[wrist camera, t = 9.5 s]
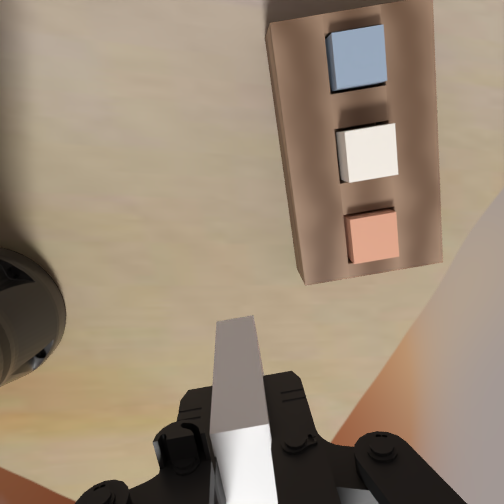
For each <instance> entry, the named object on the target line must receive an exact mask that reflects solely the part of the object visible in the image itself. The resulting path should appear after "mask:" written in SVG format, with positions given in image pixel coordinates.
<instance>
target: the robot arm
mask: <svg viewBox="0 0 504 504" xmlns="http://www.w3.org/2000/svg"><path fill="white" fill-rule="evenodd" d="M65 324H66V312H65V306H64V302H63V299H62V296H61V294H60V291H59V289H58V287H57V286H56V284H55V283H54V281H53V280H52V278H51V277H50V276H49V275H48V274H47V273H46V272H45V271H44V270H43V269H42V268H41V267H40V266H39V265H37V264H36V263H35V262H33V261H32V260H30V259H29V258H27V257H25V256H23V255H21V254H19V253H17V252H14V251H11V250H8V249H4V248H0V387H1V386H3V385H5V384H8V383H10V382H12V381H14V380H16V379H19V378H21V377H23V376H25V375H27V374H29V373H31V372H32V371H34V370H35V369H37V368H38V367H39V366H40V365H42V364H43V363H44V362H45V361H46V360H47V358H48V357H49V356H50V355H51V354H52V353H53V351H54V350H55V349H56V347H57V346H58V344H59V343H60V341H61V339H62V336H63V333H64V329H65ZM153 445H154V449H155V452H156V456H157V460H158V463H159V467H160V471H159V474H158V475H156V476H155V477H154V478H152V479H151V480H149V481H147V482H145V483H143V484H140V485H138V486H136V487H134V488H131V489H128V486H127V485H126V484H125V483H124V482H123V481H118V480H109V481H104V482H101V483H99V484H97V485H94V486H93V487H91V488H90V489H89V490H87V491H86V492H84V493H83V495H82V496H81V497H80V498H79V499H78V500H77V501H76V503H75V504H467V503H466V502H465V501H464V500H463V499H462V498H461V497H460V496H459V495H458V494H457V493H456V492H455V491H454V490H453V489H452V488H451V487H450V486H449V485H448V484H447V483H446V482H445V481H444V480H443V479H442V478H441V477H440V476H439V475H438V474H437V473H436V472H435V471H434V470H433V469H432V468H431V467H430V466H429V465H428V464H427V463H426V462H425V460H424V459H422V457H421V456H420V455H418V454H417V452H416V451H415V450H414V449H413V448H412V447H411V446H410V445H409V444H408V443H407V442H406V441H404V440H403V439H402V438H400V437H399V436H397V435H394V434H391V433H389V432H378V431H376V432H372V433H367V434H365V435H364V436H362V437H360V438H359V439H358V441H357V442H356V444H355V447H349V446H340V445H335V444H332V443H330V442H328V441H326V440H324V439H323V438H322V437H321V436H320V435H319V434H318V433H317V431H316V428H315V425H314V422H313V418H312V415H311V412H310V408H309V405H308V402H307V399H306V395H305V392H304V389H303V385H302V382H301V379H300V378H299V377H298V376H297V375H296V374H295V373H294V372H293V371H288V372H282V373H277V374H271V375H265V376H264V373H263V367H262V361H261V355H260V350H259V344H258V338H257V333H256V327H255V321H254V316H253V315H252V316H247V317H241V318H235V319H229V320H224V321H218V322H217V324H216V340H215V356H214V371H213V386H209V387H203V388H197V389H192V390H188V391H187V393H186V394H185V395H184V397H183V398H182V399H181V401H180V407H179V414H178V417H177V422H174V423H171V424H169V425H168V426H166V427H164V428H163V429H162V430H161V431H160V432H159V433H158V434H157V435H156V436H155V438H154V440H153Z"/></svg>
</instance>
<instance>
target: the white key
mask: <svg viewBox="0 0 504 504" xmlns="http://www.w3.org/2000/svg"><path fill="white" fill-rule="evenodd" d="M336 137H337V147H338V157H339V166H340V176H341V180H343V181H346V182H349V183H351V182H357V181H363V180H369V179H375V178H381V177H387V176H392V175H398V162H397V146H396V131H395V123H392V124H382V125H376V126H370V127H364V128H359V129H353V130H347V131H341V132H336Z"/></svg>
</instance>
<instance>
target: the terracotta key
mask: <svg viewBox="0 0 504 504" xmlns="http://www.w3.org/2000/svg"><path fill="white" fill-rule="evenodd" d="M343 218H344V228H345V238H346V247H347V257H348V258H349V259H350V260H351V261H352V262H353V263H354V264H359V263H364V262H370V261H376V260H382V259H388V258H394V257H399V244H398V229H397V215H396V212H395V211H393V210H391V209H388V208H382V209H376V210H370V211H364V212H358V213H352V214H346V215H343Z"/></svg>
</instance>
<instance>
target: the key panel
mask: <svg viewBox="0 0 504 504" xmlns="http://www.w3.org/2000/svg"><path fill="white" fill-rule="evenodd" d="M383 24H384V38H385V53H386V68H387V81H385V82H382V83H379V84H377V85H372V86H366V87H360V88H354V89H348V90H342V91H336V92H330V83H329V74H328V64H327V54H326V45H325V39H326V38H327V37H328V36H329V35H330V34H331V33H335V32H341V31H347V30H353V29H359V28H365V27H371V26H377V25H383ZM265 42H266V49H267V56H268V63H269V71H270V78H271V85H272V92H273V99H274V106H275V114H276V121H277V128H278V135H279V142H280V150H281V157H282V164H283V171H284V178H285V185H286V193H287V200H288V207H289V214H290V221H291V229H292V236H293V243H294V250H295V257H296V265H297V270H298V272H299V274H300V276H301V278H302V280H303V282H304V284H305V286H306V285H312V284H318V283H324V282H329V281H335V280H341V279H347V278H353V277H359V276H365V275H371V274H377V273H383V272H389V271H394V270H400V269H406V268H412V267H418V266H424V265H430V264H436V263H442V262H443V253H442V227H441V201H440V175H439V149H438V123H437V97H436V71H435V45H434V19H433V0H403V1H397V2H391V3H385V4H379V5H373V6H367V7H361V8H355V9H349V10H343V11H337V12H331V13H325V14H319V15H313V16H308V17H302V18H296V19H290V20H284V21H278V22H272V23H270V24H269V27H268V30H267V33H266V36H265ZM392 123H395V131H396V146H397V162H398V175H392V176H387V177H381V178H375V179H369V180H363V181H357V182H351V183H349V182H346V181H343V180H341V176H340V166H339V157H338V147H337V137H336V132H341V131H347V130H353V129H359V128H364V127H370V126H376V125H382V124H392ZM382 208H388V209H391V210H393V211H395V212H396V215H397V229H398V244H399V257H394V258H388V259H382V260H376V261H370V262H364V263H359V264H354V263H353V262H352V261H351V260H350V259H349V258H348V257H347V247H346V238H345V228H344V218H343V215H346V214H352V213H358V212H364V211H370V210H376V209H382Z"/></svg>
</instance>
